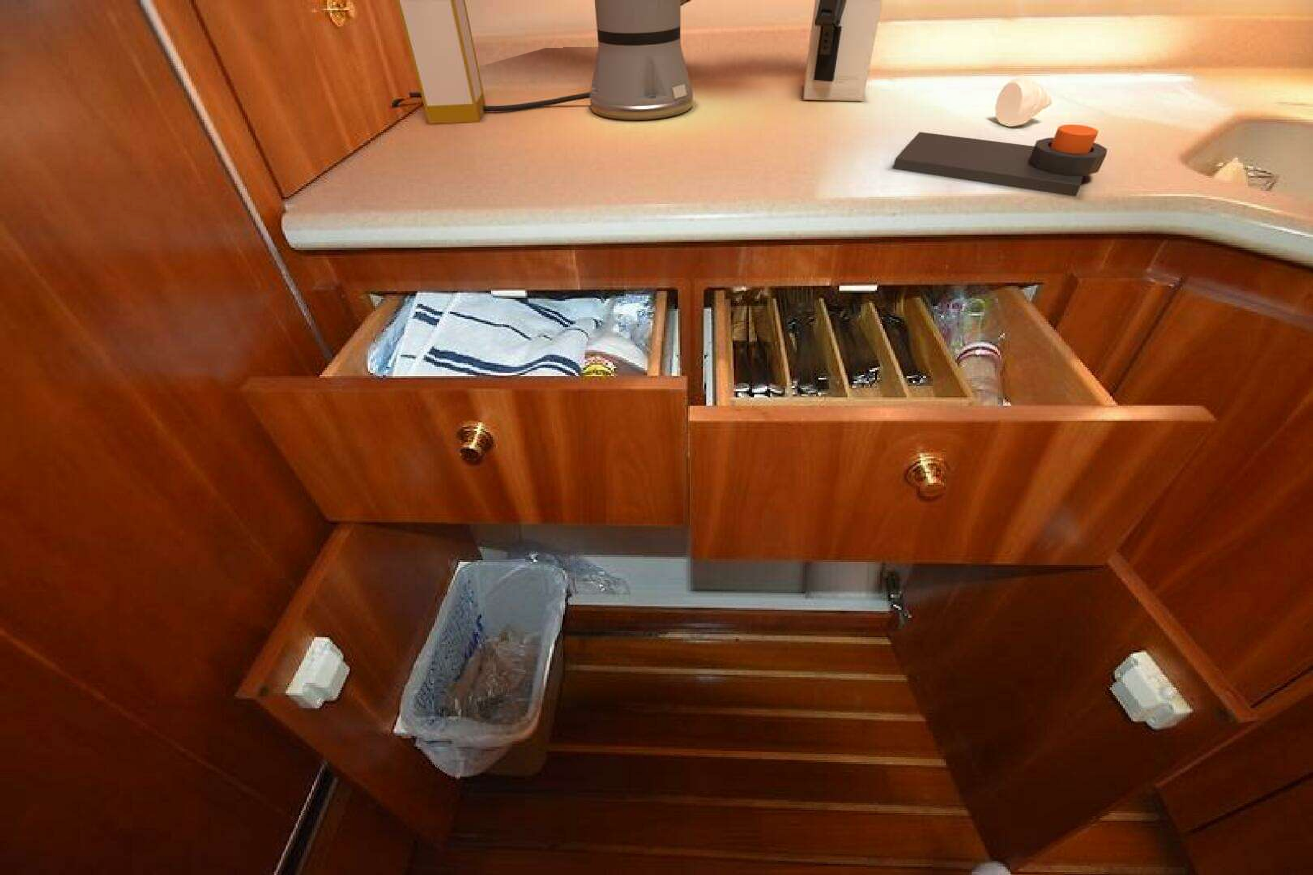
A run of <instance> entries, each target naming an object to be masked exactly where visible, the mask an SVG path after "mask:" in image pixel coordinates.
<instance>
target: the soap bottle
mask: <svg viewBox="0 0 1313 875" xmlns="http://www.w3.org/2000/svg"><path fill="white" fill-rule="evenodd" d="M395 1H396V4H397V8H398V13H399V16H400V20H401V24H402V27H403V32H404V35H405V38H406V43H407V47H408V50H409V54H410V58H411V62H412V65H413V69H414V73H415V76H416V80H417V83H418V88H419V91H420V93H421V96H422V98H421V99H422V103H423V107H424V110H425V114H426V118H427V121H428V124H429V125H436V124H455V123H476V122H477V123H478V122H480V121H481V119H482V118H483V115H484V114H485V112H486V111H483V106H487V104H486V100H485V94H484V89H483V86H482V85H483V84H482V80H481V75H480V70H479V69H480V68H479V64H478V59H477V55H476V54H477V53H476V50H475V45H474V40H473V33H472V29H471V24H470V20H469V15H468V10H467V4H466V0H395Z"/></svg>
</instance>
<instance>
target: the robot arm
mask: <svg viewBox="0 0 1313 875" xmlns="http://www.w3.org/2000/svg"><path fill="white" fill-rule="evenodd" d="M691 1H692V0H594V8H595V9H594V11H595V21H596V31H597V48H598V49H597V54H596V59H595V64H594V70H593V75H592V80H591V87H590V91H589V92H583V93H577V94H571V95H566V96H561V97H556V98H551V99H544V100H538V101H537V100H536V101H533V102H532V101H531V102H525V103H524V102H523V103H517V104H507V105H486V106H483V111H485V112H511V111H520V110H527V109H533V108H534V109H535V108H539V107H547V106H553V105H558V104H563V103H569V102H573V101H579V100H586V99H589V100H590V102H589V103H590V109H591V111H592V112H593V113H594V114H596V115H598V116H601V117H604V118H608V119H609V118H610V119H616V120H628V121H629V120H631V121H640V120H641V121H642V120H643V121H644V120H656V119H657V120H658V119H663V118H669V117H674V116H678V115H681V114H683V113H685V112H687V111H689V110H690V109H691V108H692V107H693V101H694V98H693V97H694V91H693V87H692V84H691V80H690V76H689V71H688V69H687V64H686V61H685V57H684V52H683V49H682V45H681V44H682V42H681V21H682V20H681V18H682V16H681V14H682V12H681V8H682V6H684V5H686V4H687V3H690V2H691ZM845 4H846V0H820V2H819V7H818V12H817V16H816V18H815V26H821V30H820V38H819V45H818V52H817V60H816V67H815V74H814V80H819V81H829V82H832V81H833V80H834V74H835V67H836V61H837V55H838V48H839V42H840V35H841V29H842V26H839V24H840V20H841V17H842V14H843V10H844V7H845ZM408 93H409V95H410V98H407V99H396V98H395V99H396V100H395V99H394V100H393V101H392V103H391V104H392V107H391V108H396V107H397V106H399V104H400V103H401V102H404V101H405V100H408V99H414V98H415V99H416V98H417V99H420V98H421V99H422V96H421V92H418V91H416V92H415V91H414V92H412V91H411V92H408Z"/></svg>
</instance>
